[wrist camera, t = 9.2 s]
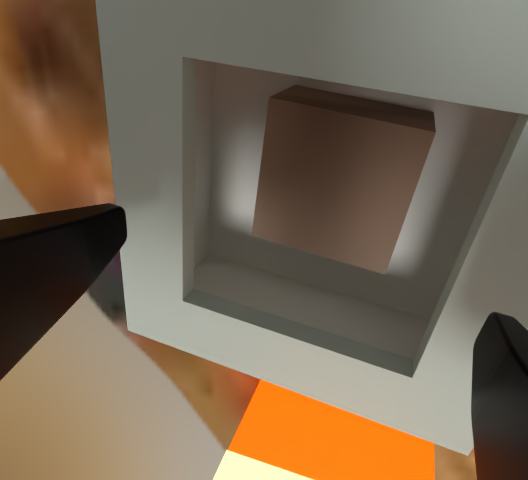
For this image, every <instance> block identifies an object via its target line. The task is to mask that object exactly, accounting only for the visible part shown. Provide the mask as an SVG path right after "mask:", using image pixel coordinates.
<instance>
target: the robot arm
mask: <svg viewBox="0 0 528 480" xmlns="http://www.w3.org/2000/svg"><path fill="white" fill-rule="evenodd" d="M126 239H127V223H126V213H125V210H124V208H123V207H121V206H118V205H114V204H110V203H107V204H100V205H94V206H87V207H81V208H74V209H68V210H61V211H55V212H48V213H42V214H35V215H29V216H23V217H16V218H9V219H3V220H0V380H1V379H2V378H3V377H4V376H5V375H6V374H7V373H8V372H9V371H10V370H11V369H12V368H13V367H14V366H15V365H16V364H17V363H18V362H19V361H20V360H21V359H22V357H23V356H24V355H25V354H26V353H27V352H28V351H29V350H30V349H31V348H32V347H33V346H34V345H35V344H36V343H37V342H38V341H39V340H40V339H41V338H42V337H43V336H44V335H45V334H46V332H47V331H48V330H49V329H50V328H51V327H52V326H53V325H54V324H55V323H56V322H57V321H58V320H59V319H60V318H61V317H62V316H63V315H64V314H65V313H66V312H67V310H68V309H69V308H70V307H71V306H72V305H73V304H74V303H75V302H76V301H77V300H78V299H79V298H80V297H81V296H82V295H83V294H84V293H85V292H86V291H87V290H88V289H89V288H90V286H91V285H92V284H93V283H94V282H95V281H96V279H97V278H98V277H99V276H100V274H101V273H102V272H103V271H104V269H105V268H106V267H107V265H108V264H109V263H110V262H111V260H112V259H113V258H114V256H115V255H116V254H117V253H118V251H119V250H120V249H121V247H122V246H123V245H124V243H125V242H126ZM471 421H472V432H473V443H474V453H475V463H476V474H477V480H528V330H527V329H526V328H525V327H524V326H523V325H522V324H521V323H520V322H519V321H517V320H516V319H515V318H514V317H512V316H509V315H505V314H502V313H498V312H492V313H490V314H489V315H488V317H487V319H486V321H485V323H484V324H483V326H482V328H481V330H480V332H479V334H478V336H477V338H476V340H475V342H474V347H473V363H472V391H471Z"/></svg>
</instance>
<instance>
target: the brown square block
mask: <svg viewBox="0 0 528 480" xmlns="http://www.w3.org/2000/svg"><path fill="white" fill-rule="evenodd" d="M435 133H436V128H435V118H434V112H430V111H425V110H420V109H415V108H410V107H405V106H400V105H395V104H390V103H385V102H380V101H375V100H370V99H365V98H360V97H355V96H350V95H345V94H340V93H335V92H330V91H325V90H320V89H315V88H310V87H305V86H300V85H294V86H292V87H290V88H287V89H285V90H283V91H281V92H279V93H277V94H275V95H273V96H271V97H269V102H268V110H267V118H266V126H265V133H264V141H263V149H262V157H261V165H260V172H259V180H258V188H257V196H256V204H255V211H254V219H253V227H252V235H253V236H257V237H260V238H263V239H267V240H270V241H273V242H277V243H280V244H284V245H287V246H290V247H294V248H297V249H300V250H304V251H307V252H310V253H314V254H317V255H320V256H324V257H327V258H331V259H334V260H337V261H341V262H344V263H347V264H351V265H354V266H357V267H361V268H364V269H367V270H371V271H374V272H377V273H381V274H384V275H385V273H386V271H387V268H388V265H389V262H390V259H391V257H392V254H393V251H394V248H395V245H396V243H397V240H398V237H399V234H400V231H401V229H402V226H403V223H404V220H405V217H406V215H407V212H408V209H409V206H410V203H411V201H412V198H413V195H414V192H415V189H416V187H417V184H418V181H419V178H420V175H421V173H422V170H423V167H424V164H425V161H426V159H427V156H428V153H429V150H430V147H431V145H432V142H433V139H434V136H435Z"/></svg>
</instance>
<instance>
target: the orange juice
mask: <svg viewBox="0 0 528 480" xmlns="http://www.w3.org/2000/svg"><path fill="white" fill-rule="evenodd" d="M213 480H434V443H432V442H429V441H426V440H424V439H421V438H418V437H415V436H413V435H410V434H407V433H405V432H402V431H399V430H396V429H394V428H391V427H388V426H386V425H383V424H380V423H377V422H375V421H372V420H369V419H367V418H364V417H361V416H359V415H356V414H353V413H350V412H348V411H345V410H342V409H340V408H337V407H334V406H331V405H329V404H326V403H323V402H321V401H318V400H315V399H313V398H310V397H307V396H304V395H302V394H299V393H296V392H294V391H291V390H288V389H285V388H283V387H280V386H277V385H275V384H272V383H269V382H267V381H264V380H260V382H259V384H258V386H257V388H256V390H255V393H254V395H253V397H252V399H251V401H250V403H249V406H248V408H247V410H246V412H245V414H244V416H243V419H242V421H241V423H240V425H239V427H238V429H237V432H236V434H235V436H234V438H233V440H232V442H231V445H230V447H229V449H228V450H226V453H225V455H224V457H223V459H222V461H221V463H220V466H219V468H218V470H217V472H216V474H215V476H214V478H213Z"/></svg>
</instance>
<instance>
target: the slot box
mask: <svg viewBox="0 0 528 480" xmlns="http://www.w3.org/2000/svg"><path fill="white" fill-rule="evenodd" d="M95 2H96V12H97V22H98V32H99V42H100V52H101V62H102V73H103V83H104V93H105V103H106V113H107V123H108V134H109V144H110V154H111V164H112V174H113V184H114V195H115V205H118V206H121V207H123V208H124V210H125V213H126V223H127V239H126V242H125V243H124V245H123V246H122V247H121V249H120V255H121V266H122V276H123V286H124V296H125V306H126V316H127V327H128V330H129V331H131V332H134V333H137V334H139V335H142V336H145V337H147V338H150V339H153V340H156V341H158V342H161V343H164V344H166V345H169V346H172V347H175V348H177V349H180V350H183V351H185V352H188V353H191V354H193V355H196V356H199V357H202V358H204V359H207V360H210V361H212V362H215V363H218V364H221V365H223V366H226V367H229V368H231V369H234V370H237V371H239V372H242V373H245V374H248V375H250V376H253V377H256V378H258V379H261V380H264V381H267V382H269V383H272V384H275V385H277V386H280V387H283V388H285V389H288V390H291V391H294V392H296V393H299V394H302V395H304V396H307V397H310V398H313V399H315V400H318V401H321V402H323V403H326V404H329V405H331V406H334V407H337V408H340V409H342V410H345V411H348V412H350V413H353V414H356V415H359V416H361V417H364V418H367V419H369V420H372V421H375V422H377V423H380V424H383V425H386V426H388V427H391V428H394V429H396V430H399V431H402V432H405V433H407V434H410V435H413V436H415V437H418V438H421V439H424V440H426V441H429V442H432V443H434V444H437V445H440V446H442V447H445V448H448V449H451V450H453V451H456V452H459V453H461V454H464V455H467V456H468V455H469V453H470V452H471V450H472V449H473V447H474V443H473V432H472V421H471V391H472V363H473V347H474V342H475V340H476V338H477V336H478V334H479V332H480V330H481V328H482V326H483V324H484V323H485V321H486V319H487V317H488V315H489V314H490V313H492V312H498V313H502V314H505V315H509V316H512V317H514V318H515V319H516V320H517V321H519V322H520V323H521V324H522V325H523V326H524V327H525V328H526V329H527V330H528V0H95ZM294 85H300V86H305V87H310V88H315V89H320V90H325V91H330V92H335V93H340V94H345V95H350V96H355V97H360V98H365V99H370V100H375V101H380V102H385V103H390V104H395V105H400V106H405V107H410V108H415V109H420V110H425V111H430V112H434V118H435V128H436V133H435V136H434V139H433V142H432V145H431V147H430V150H429V153H428V156H427V159H426V161H425V164H424V167H423V170H422V173H421V175H420V178H419V181H418V184H417V187H416V189H415V192H414V195H413V198H412V201H411V203H410V206H409V209H408V212H407V215H406V217H405V220H404V223H403V226H402V229H401V231H400V234H399V237H398V240H397V243H396V245H395V248H394V251H393V254H392V257H391V259H390V262H389V265H388V268H387V271H386V273H385V275H384V274H381V273H377V272H374V271H371V270H367V269H364V268H361V267H357V266H354V265H351V264H347V263H344V262H341V261H337V260H334V259H331V258H327V257H324V256H320V255H317V254H314V253H310V252H307V251H304V250H300V249H297V248H294V247H290V246H287V245H284V244H280V243H277V242H273V241H270V240H267V239H263V238H260V237H257V236H253V235H252V227H253V219H254V211H255V204H256V196H257V188H258V180H259V172H260V165H261V157H262V149H263V141H264V133H265V126H266V118H267V110H268V102H269V97H271V96H273V95H275V94H277V93H279V92H281V91H283V90H285V89H287V88H290V87H292V86H294Z"/></svg>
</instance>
